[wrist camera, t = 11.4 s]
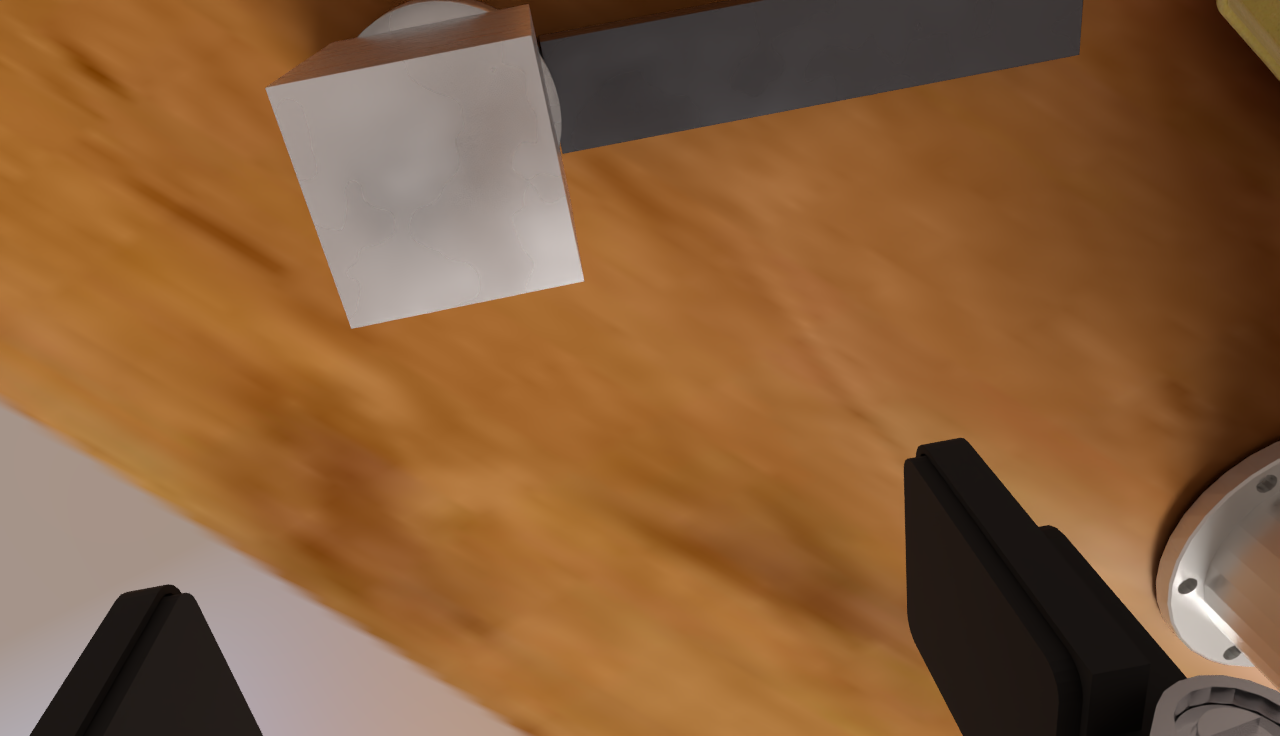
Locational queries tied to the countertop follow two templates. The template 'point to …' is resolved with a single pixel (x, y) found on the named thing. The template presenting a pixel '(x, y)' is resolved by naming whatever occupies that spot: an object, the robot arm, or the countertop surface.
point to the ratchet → (765, 56)
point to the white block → (431, 165)
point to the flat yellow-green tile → (1256, 27)
